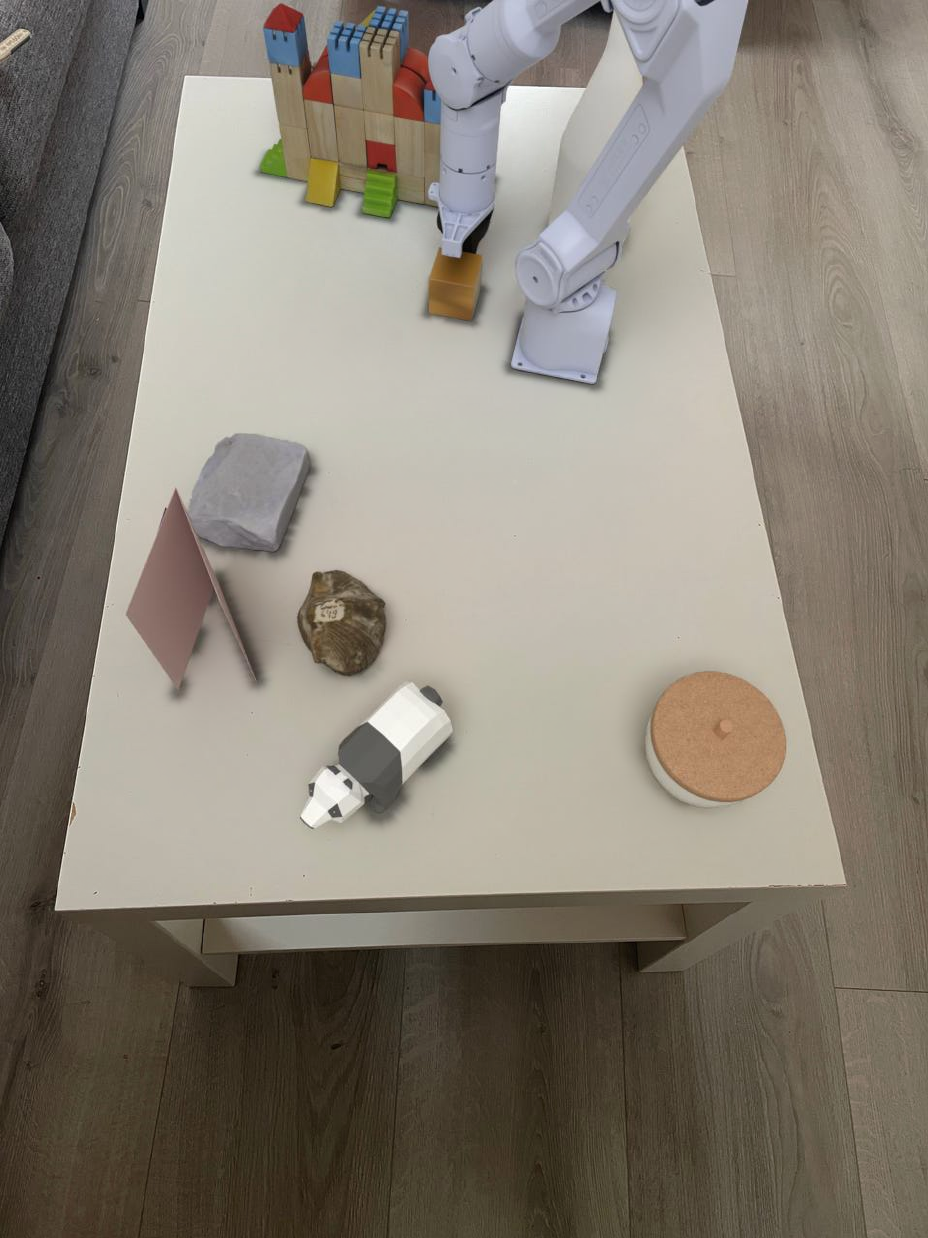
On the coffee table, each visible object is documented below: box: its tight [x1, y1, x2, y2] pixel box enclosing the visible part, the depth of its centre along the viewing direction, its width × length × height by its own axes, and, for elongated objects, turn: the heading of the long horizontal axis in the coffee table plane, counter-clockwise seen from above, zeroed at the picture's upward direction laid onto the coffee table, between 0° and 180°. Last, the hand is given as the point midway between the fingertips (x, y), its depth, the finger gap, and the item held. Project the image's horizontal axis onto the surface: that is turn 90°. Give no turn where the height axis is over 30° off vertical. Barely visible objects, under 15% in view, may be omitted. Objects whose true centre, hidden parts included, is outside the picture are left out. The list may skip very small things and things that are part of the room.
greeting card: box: [124, 486, 258, 691], centre depth 71 cm, size 11×7×15 cm, turn 170°
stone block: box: [186, 432, 311, 553], centre depth 83 cm, size 12×5×10 cm
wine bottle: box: [547, 10, 644, 244], centre depth 90 cm, size 10×10×30 cm
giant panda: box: [299, 681, 454, 830], centre depth 68 cm, size 15×6×10 cm, turn 138°
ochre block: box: [428, 246, 484, 322], centre depth 96 cm, size 5×5×5 cm
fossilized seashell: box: [296, 569, 387, 677], centre depth 76 cm, size 8×7×10 cm
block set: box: [259, 3, 441, 218], centre depth 98 cm, size 28×14×19 cm, turn 77°
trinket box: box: [644, 670, 787, 809], centre depth 70 cm, size 11×11×9 cm
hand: (462, 265), depth 98 cm, fingers closed
